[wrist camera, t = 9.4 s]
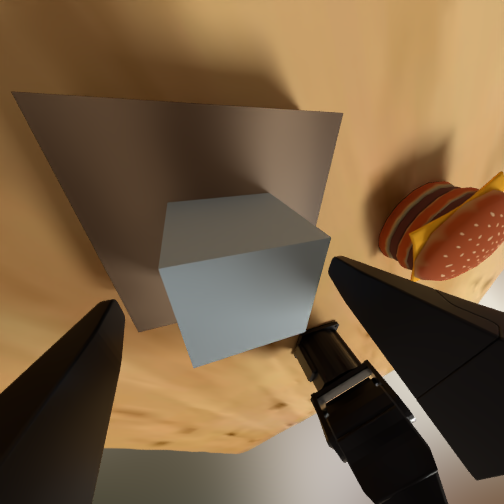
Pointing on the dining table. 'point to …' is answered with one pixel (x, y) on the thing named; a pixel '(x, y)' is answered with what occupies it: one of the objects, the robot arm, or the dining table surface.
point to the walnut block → (171, 172)
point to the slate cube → (239, 272)
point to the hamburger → (445, 229)
